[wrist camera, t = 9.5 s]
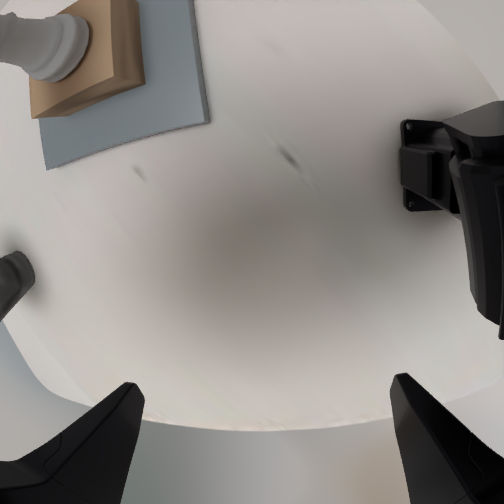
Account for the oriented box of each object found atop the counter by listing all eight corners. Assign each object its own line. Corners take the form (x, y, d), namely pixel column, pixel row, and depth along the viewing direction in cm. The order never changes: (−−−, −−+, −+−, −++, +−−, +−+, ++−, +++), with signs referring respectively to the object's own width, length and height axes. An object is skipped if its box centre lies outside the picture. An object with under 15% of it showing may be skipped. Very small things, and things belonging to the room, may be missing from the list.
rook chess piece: (40, 41, 10) (-52, 33, 3) (91, 5, 9) (-3, -29, 2) (44, 95, 11) (-59, 105, 4) (97, 60, 11) (-17, 42, 3)
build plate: (188, -35, 12) (183, -44, 10) (210, 122, 17) (204, 121, 16) (47, 31, 13) (37, 28, 12) (57, 167, 19) (46, 170, 18)
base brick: (138, 2, 12) (110, -17, 8) (145, 84, 15) (113, 76, 11) (63, 40, 13) (30, 33, 9) (67, 116, 16) (31, 119, 12)
